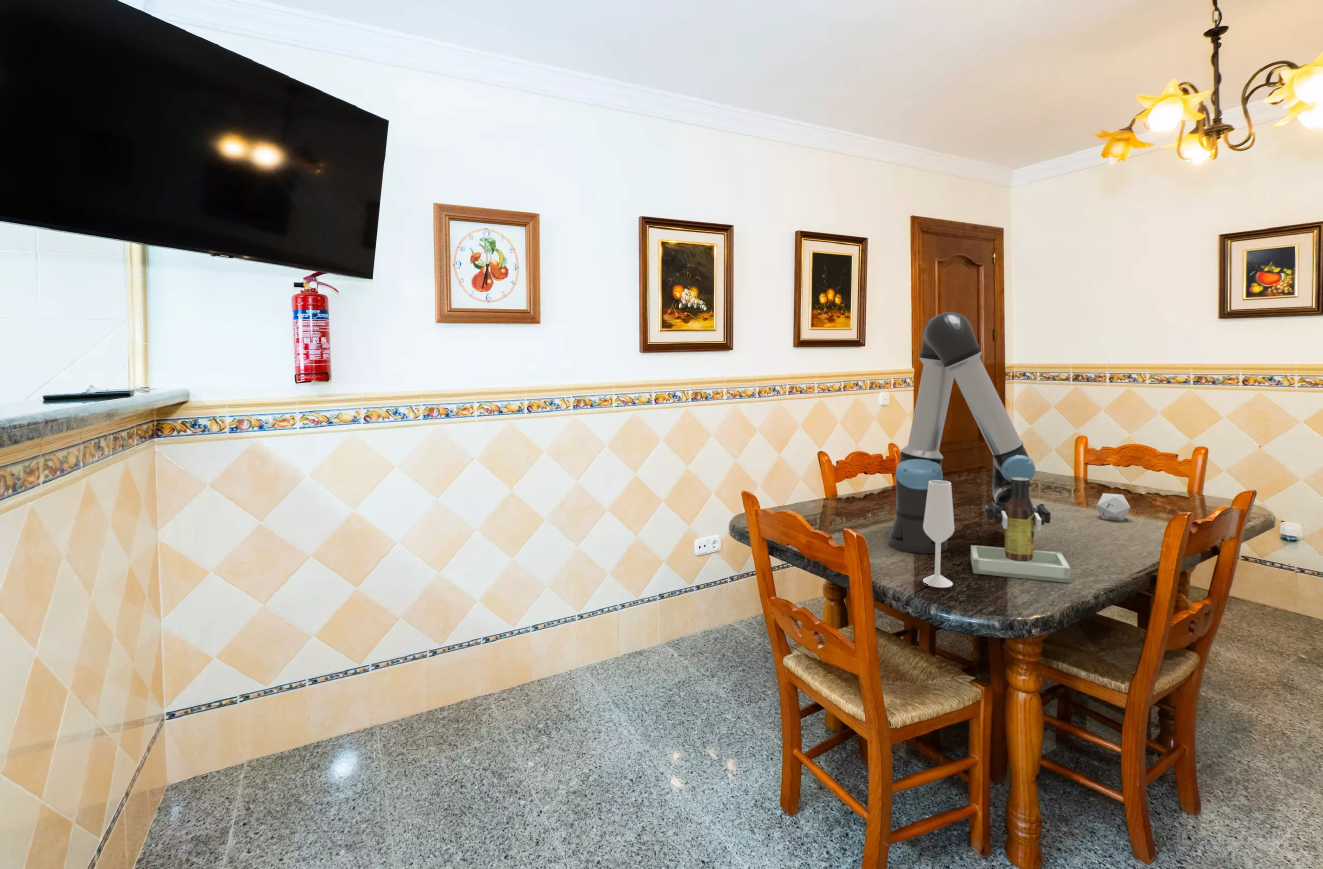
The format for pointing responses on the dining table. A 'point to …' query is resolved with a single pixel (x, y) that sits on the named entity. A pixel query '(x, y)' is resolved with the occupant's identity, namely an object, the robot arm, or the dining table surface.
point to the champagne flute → (938, 524)
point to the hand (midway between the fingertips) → (1022, 524)
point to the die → (1113, 507)
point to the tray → (1020, 564)
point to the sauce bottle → (1019, 522)
